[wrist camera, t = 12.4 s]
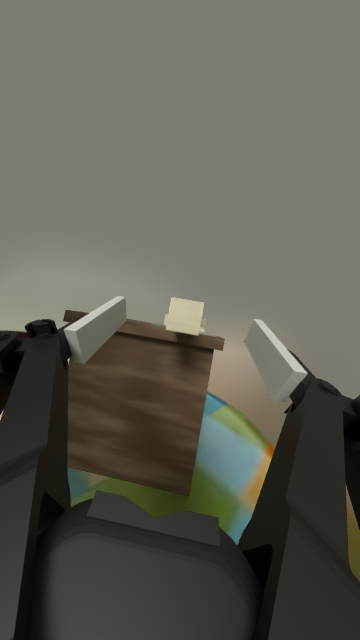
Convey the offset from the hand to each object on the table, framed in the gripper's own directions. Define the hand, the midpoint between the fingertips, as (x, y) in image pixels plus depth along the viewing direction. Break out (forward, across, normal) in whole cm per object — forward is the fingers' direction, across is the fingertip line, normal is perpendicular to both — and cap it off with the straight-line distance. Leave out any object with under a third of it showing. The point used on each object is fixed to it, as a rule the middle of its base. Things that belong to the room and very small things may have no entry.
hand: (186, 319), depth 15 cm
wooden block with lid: (0, -7, -34) cm, 35 cm away
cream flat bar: (+9, 0, -6) cm, 11 cm away
